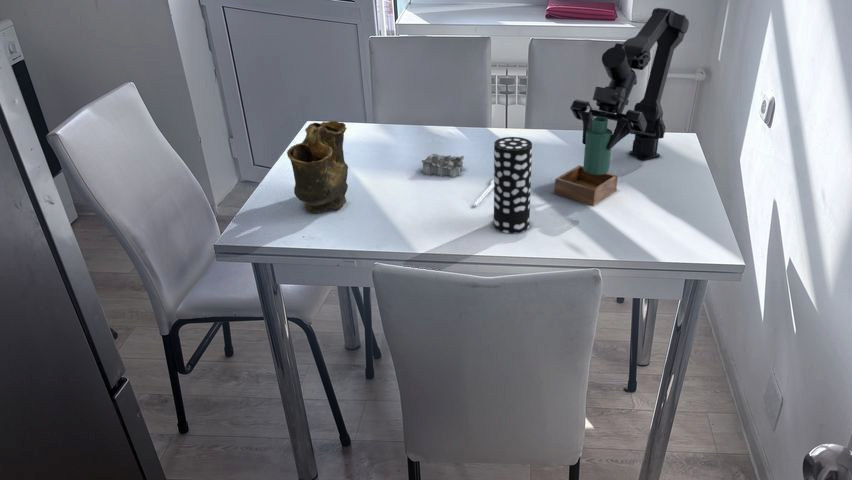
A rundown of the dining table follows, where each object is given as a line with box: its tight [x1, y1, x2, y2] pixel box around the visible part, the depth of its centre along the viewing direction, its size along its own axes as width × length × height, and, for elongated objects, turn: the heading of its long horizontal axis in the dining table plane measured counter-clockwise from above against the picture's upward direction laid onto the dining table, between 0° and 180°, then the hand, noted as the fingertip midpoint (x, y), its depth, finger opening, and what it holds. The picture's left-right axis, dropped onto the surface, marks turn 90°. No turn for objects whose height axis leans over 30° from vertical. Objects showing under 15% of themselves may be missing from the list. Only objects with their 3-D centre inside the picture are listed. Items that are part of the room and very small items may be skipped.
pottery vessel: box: [286, 120, 349, 214], centre depth 167 cm, size 25×11×20 cm, turn 178°
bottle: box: [583, 117, 614, 175], centre depth 172 cm, size 6×6×13 cm
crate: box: [553, 164, 619, 206], centre depth 179 cm, size 12×12×4 cm
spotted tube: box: [493, 136, 533, 234], centre depth 158 cm, size 8×8×20 cm
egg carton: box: [421, 153, 465, 178], centre depth 190 cm, size 11×8×4 cm
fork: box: [473, 178, 494, 207], centre depth 179 cm, size 3×20×2 cm, turn 160°
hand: (595, 146), depth 171 cm, fingers closed on bottle, 6 cm apart
